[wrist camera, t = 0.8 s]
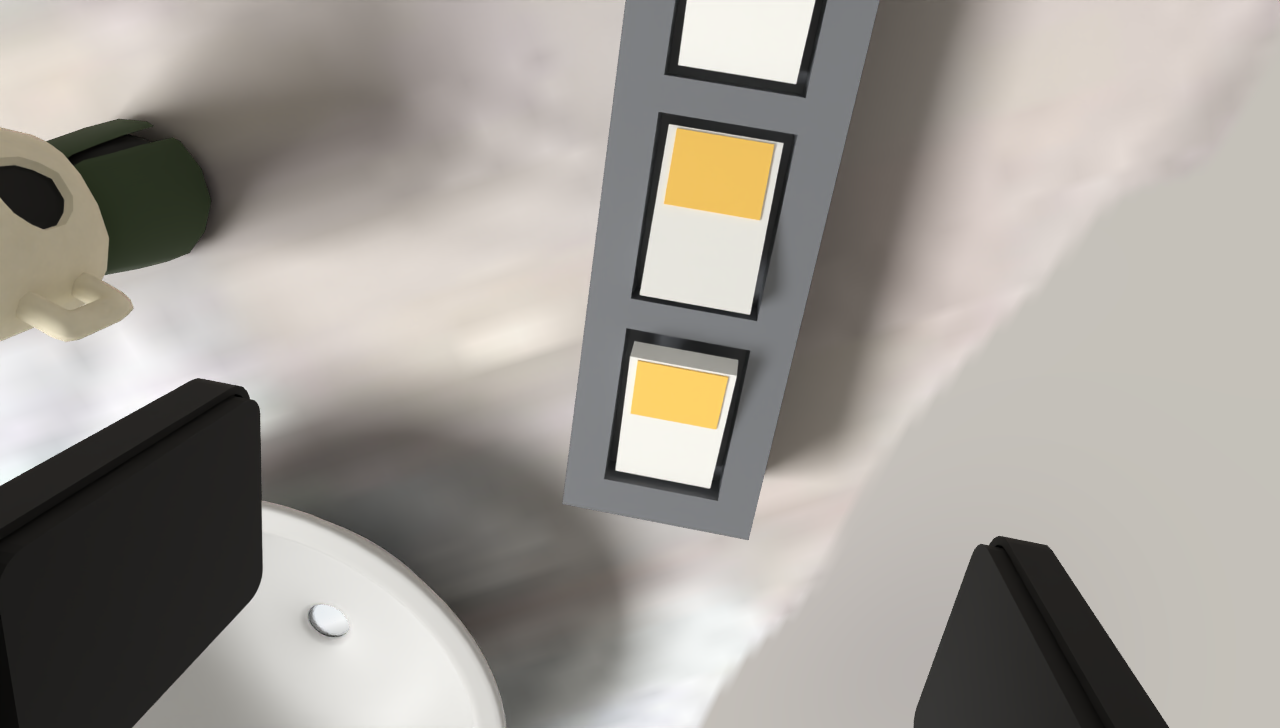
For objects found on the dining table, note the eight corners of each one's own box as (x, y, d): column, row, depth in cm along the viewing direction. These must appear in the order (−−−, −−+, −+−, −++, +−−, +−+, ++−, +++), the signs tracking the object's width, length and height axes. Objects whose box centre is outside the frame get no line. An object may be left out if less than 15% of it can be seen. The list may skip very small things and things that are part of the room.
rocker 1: (634, 341, 30) (630, 357, 29) (738, 360, 30) (736, 377, 29) (619, 454, 34) (615, 471, 33) (712, 471, 33) (709, 489, 33)
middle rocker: (670, 128, 28) (668, 124, 27) (780, 146, 28) (783, 142, 27) (641, 293, 29) (639, 294, 28) (748, 312, 29) (750, 315, 28)
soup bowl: (430, 829, 50) (387, 938, 44) (83, 650, 48) (-12, 739, 42) (618, 580, 41) (596, 675, 35) (199, 342, 39) (98, 400, 33)
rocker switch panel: (697, -395, 26) (687, -488, 21) (944, -362, 25) (989, -451, 21) (584, 447, 38) (562, 504, 34) (747, 478, 38) (748, 540, 33)
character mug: (288, 188, 35) (51, 267, 23) (237, 314, 38) (2, 444, 26) (61, 49, 34) (-312, 58, 22) (25, 191, 37) (-323, 266, 25)
